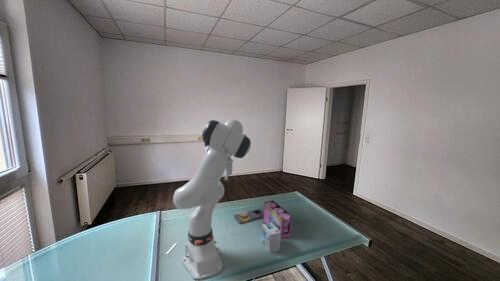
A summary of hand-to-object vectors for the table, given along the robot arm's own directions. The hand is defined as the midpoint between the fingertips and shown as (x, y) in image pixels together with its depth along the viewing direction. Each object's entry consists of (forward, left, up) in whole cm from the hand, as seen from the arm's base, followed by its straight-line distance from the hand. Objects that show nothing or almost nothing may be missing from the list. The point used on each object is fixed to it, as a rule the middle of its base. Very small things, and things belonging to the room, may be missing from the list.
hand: (223, 178), depth 135 cm
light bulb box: (-41, -12, -29) cm, 52 cm away
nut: (-10, -11, -29) cm, 32 cm away
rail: (-10, -17, -29) cm, 35 cm away
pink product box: (-28, -26, -29) cm, 48 cm away
